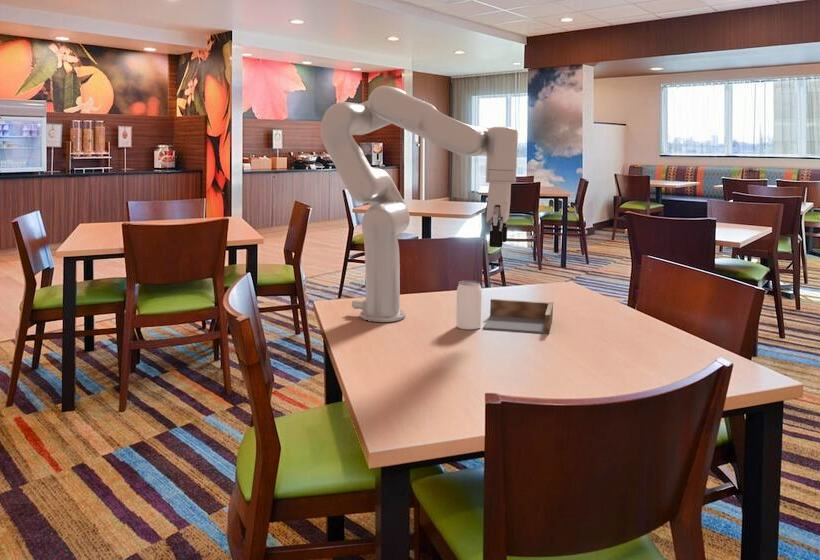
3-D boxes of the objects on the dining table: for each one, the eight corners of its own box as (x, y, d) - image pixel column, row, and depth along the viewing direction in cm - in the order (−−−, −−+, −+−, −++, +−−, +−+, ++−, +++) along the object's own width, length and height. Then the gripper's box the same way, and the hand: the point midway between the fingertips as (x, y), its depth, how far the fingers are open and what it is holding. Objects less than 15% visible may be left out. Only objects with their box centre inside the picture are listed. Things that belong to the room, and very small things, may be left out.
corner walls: (482, 329, 175) (483, 310, 174) (490, 316, 188) (491, 298, 187) (549, 333, 170) (550, 314, 169) (552, 320, 184) (553, 302, 183)
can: (479, 331, 173) (480, 285, 171) (454, 329, 174) (455, 284, 172) (481, 324, 179) (483, 280, 177) (457, 323, 180) (458, 279, 178)
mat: (482, 329, 175) (483, 327, 175) (490, 316, 188) (490, 314, 188) (549, 333, 170) (549, 331, 170) (552, 320, 184) (552, 318, 184)
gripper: (490, 175, 178) (488, 239, 181) (481, 178, 161) (478, 248, 165) (519, 175, 176) (516, 240, 179) (512, 179, 159) (509, 250, 163)
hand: (498, 244), depth 172 cm, fingers open, 9 cm apart
